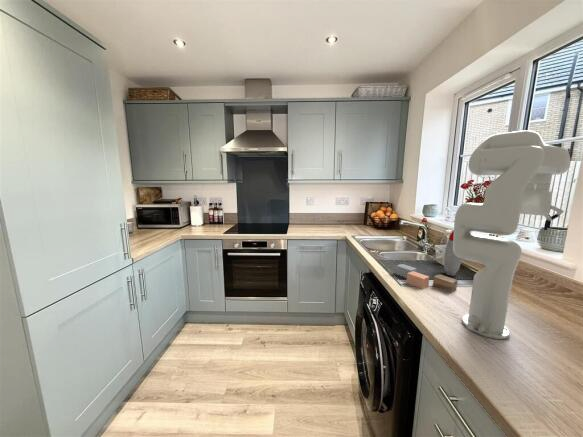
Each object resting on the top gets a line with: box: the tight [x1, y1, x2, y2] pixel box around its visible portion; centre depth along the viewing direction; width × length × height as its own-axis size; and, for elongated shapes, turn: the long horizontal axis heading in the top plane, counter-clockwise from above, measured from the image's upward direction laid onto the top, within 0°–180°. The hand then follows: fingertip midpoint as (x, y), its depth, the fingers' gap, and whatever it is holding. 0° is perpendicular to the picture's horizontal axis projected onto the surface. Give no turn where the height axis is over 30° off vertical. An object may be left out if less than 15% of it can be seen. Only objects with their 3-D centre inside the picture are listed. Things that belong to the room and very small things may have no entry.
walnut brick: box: [432, 274, 458, 293], centre depth 110 cm, size 5×8×5 cm, turn 33°
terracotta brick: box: [406, 271, 430, 290], centre depth 113 cm, size 5×8×5 cm, turn 32°
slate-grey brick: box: [395, 263, 417, 279], centre depth 123 cm, size 5×8×5 cm, turn 34°
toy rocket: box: [443, 230, 462, 277], centre depth 124 cm, size 8×8×25 cm
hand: (529, 227), depth 100 cm, fingers open, 9 cm apart
